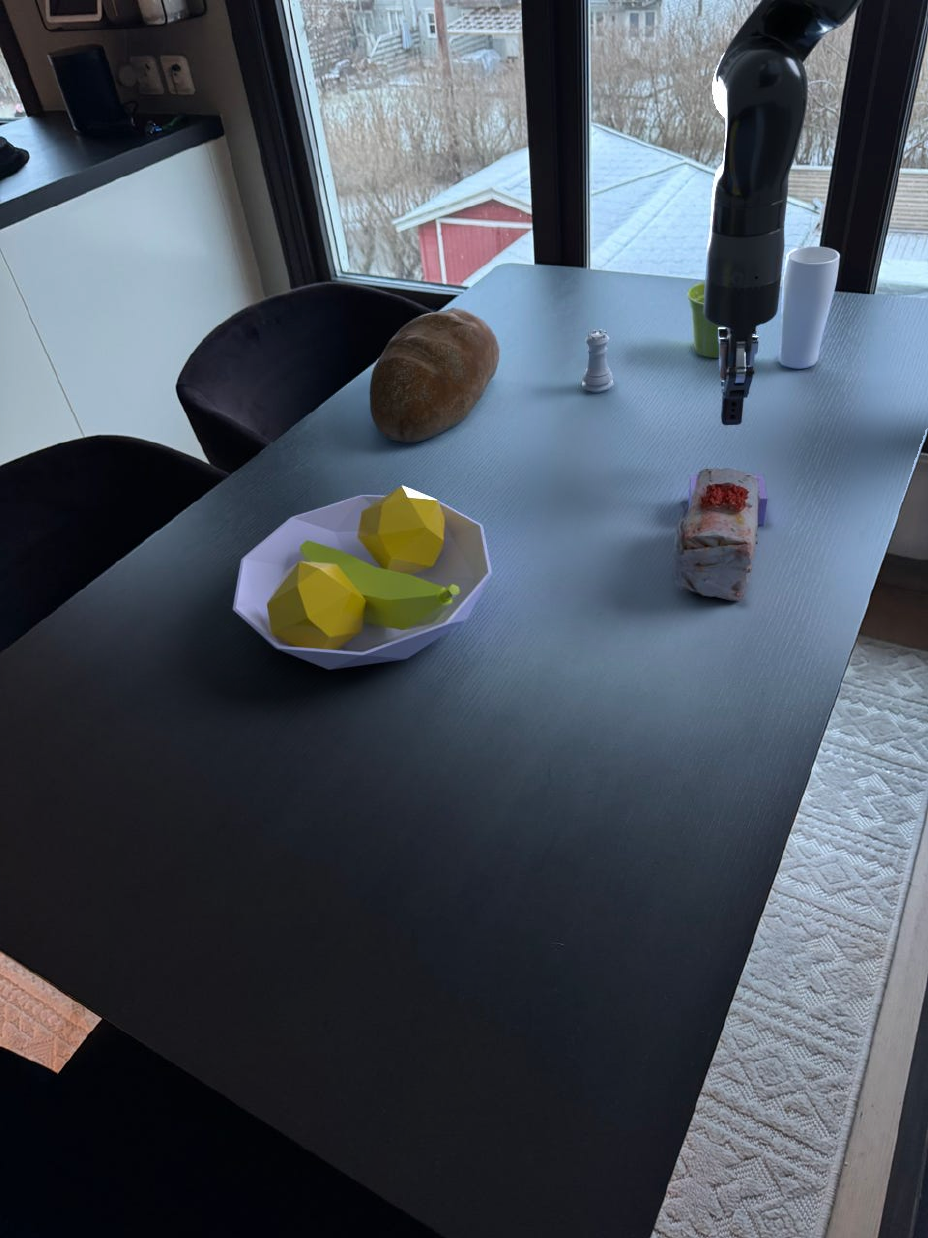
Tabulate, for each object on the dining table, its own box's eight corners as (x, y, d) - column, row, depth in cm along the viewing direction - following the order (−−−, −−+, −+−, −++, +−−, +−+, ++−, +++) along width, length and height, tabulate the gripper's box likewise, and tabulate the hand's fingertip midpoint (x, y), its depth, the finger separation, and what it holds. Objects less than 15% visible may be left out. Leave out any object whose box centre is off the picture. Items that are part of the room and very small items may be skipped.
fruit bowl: (223, 584, 100) (193, 500, 93) (443, 512, 106) (431, 428, 99) (284, 751, 80) (251, 661, 72) (551, 649, 86) (546, 557, 79)
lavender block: (760, 500, 101) (763, 474, 99) (764, 525, 98) (767, 498, 95) (688, 500, 103) (690, 474, 101) (689, 524, 99) (691, 498, 97)
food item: (750, 611, 87) (762, 530, 81) (668, 603, 89) (673, 523, 83) (756, 531, 97) (766, 453, 90) (682, 526, 99) (687, 449, 93)
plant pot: (757, 341, 132) (764, 283, 127) (735, 367, 127) (741, 308, 121) (697, 333, 137) (701, 276, 131) (673, 358, 131) (676, 300, 125)
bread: (517, 356, 137) (512, 283, 130) (457, 452, 117) (447, 372, 109) (423, 352, 142) (413, 281, 135) (350, 444, 122) (334, 366, 114)
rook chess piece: (619, 384, 127) (620, 330, 121) (601, 396, 124) (600, 342, 119) (594, 376, 129) (593, 323, 124) (575, 389, 127) (574, 335, 122)
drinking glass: (815, 375, 122) (832, 265, 113) (766, 368, 125) (779, 261, 116) (828, 355, 126) (846, 247, 117) (780, 349, 130) (794, 243, 120)
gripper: (789, 293, 85) (770, 450, 96) (775, 245, 95) (759, 393, 106) (708, 297, 86) (699, 452, 98) (703, 250, 96) (695, 395, 107)
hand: (730, 421), depth 102 cm, fingers closed
